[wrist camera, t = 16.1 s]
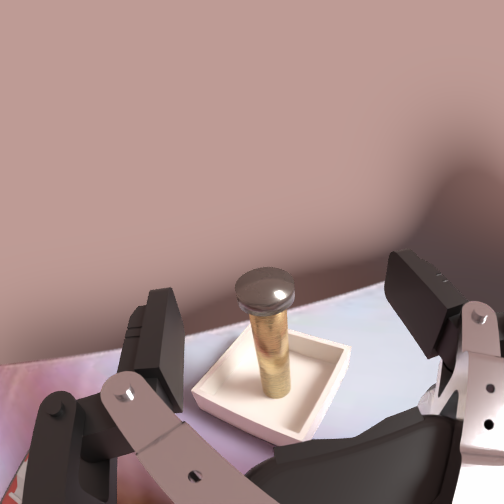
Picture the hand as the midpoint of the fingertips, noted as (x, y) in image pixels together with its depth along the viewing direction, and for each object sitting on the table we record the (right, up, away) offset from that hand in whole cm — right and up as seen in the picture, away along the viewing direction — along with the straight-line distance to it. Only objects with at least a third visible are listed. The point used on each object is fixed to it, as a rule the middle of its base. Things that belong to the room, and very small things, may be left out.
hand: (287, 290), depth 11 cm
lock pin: (+1, -13, +20) cm, 23 cm away
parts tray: (+1, -13, +20) cm, 24 cm away
